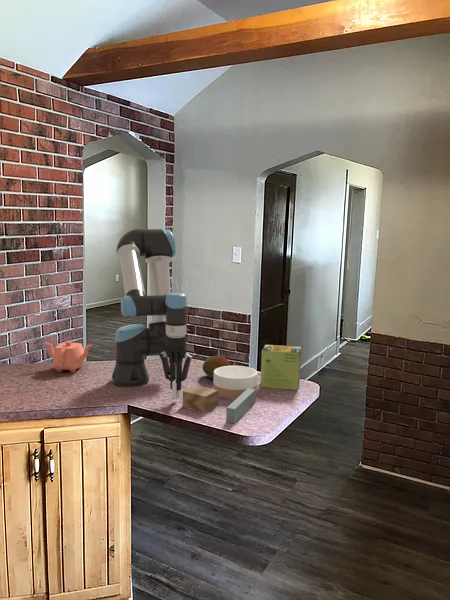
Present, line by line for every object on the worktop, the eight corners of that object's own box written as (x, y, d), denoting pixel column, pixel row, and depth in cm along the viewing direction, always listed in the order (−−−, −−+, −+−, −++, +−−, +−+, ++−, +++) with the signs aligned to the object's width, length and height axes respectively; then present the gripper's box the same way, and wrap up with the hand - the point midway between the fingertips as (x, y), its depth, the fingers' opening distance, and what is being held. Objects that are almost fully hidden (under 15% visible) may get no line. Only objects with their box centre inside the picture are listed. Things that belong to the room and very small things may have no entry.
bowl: (265, 392, 204) (266, 372, 202) (235, 402, 192) (236, 381, 190) (234, 382, 216) (234, 363, 214) (204, 391, 203) (204, 371, 202)
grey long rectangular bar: (226, 421, 173) (226, 407, 172) (247, 401, 193) (247, 388, 193) (234, 423, 172) (235, 409, 171) (255, 402, 192) (255, 389, 191)
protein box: (298, 390, 207) (299, 352, 204) (260, 387, 210) (261, 350, 207) (299, 382, 217) (301, 346, 214) (263, 379, 220) (264, 344, 217)
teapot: (45, 367, 231) (44, 340, 229) (81, 362, 240) (80, 335, 238) (56, 376, 219) (55, 347, 217) (93, 370, 228) (93, 342, 226)
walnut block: (182, 407, 187) (182, 391, 186) (195, 400, 193) (195, 385, 192) (205, 412, 181) (205, 396, 180) (217, 406, 188) (218, 390, 187)
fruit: (220, 384, 212) (220, 360, 211) (195, 378, 219) (195, 356, 217) (234, 377, 222) (235, 354, 221) (210, 372, 229) (210, 350, 227)
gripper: (155, 336, 186) (155, 398, 189) (187, 339, 181) (187, 404, 185) (165, 332, 193) (165, 392, 196) (196, 335, 188) (196, 397, 191)
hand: (175, 398), depth 190 cm, fingers closed
